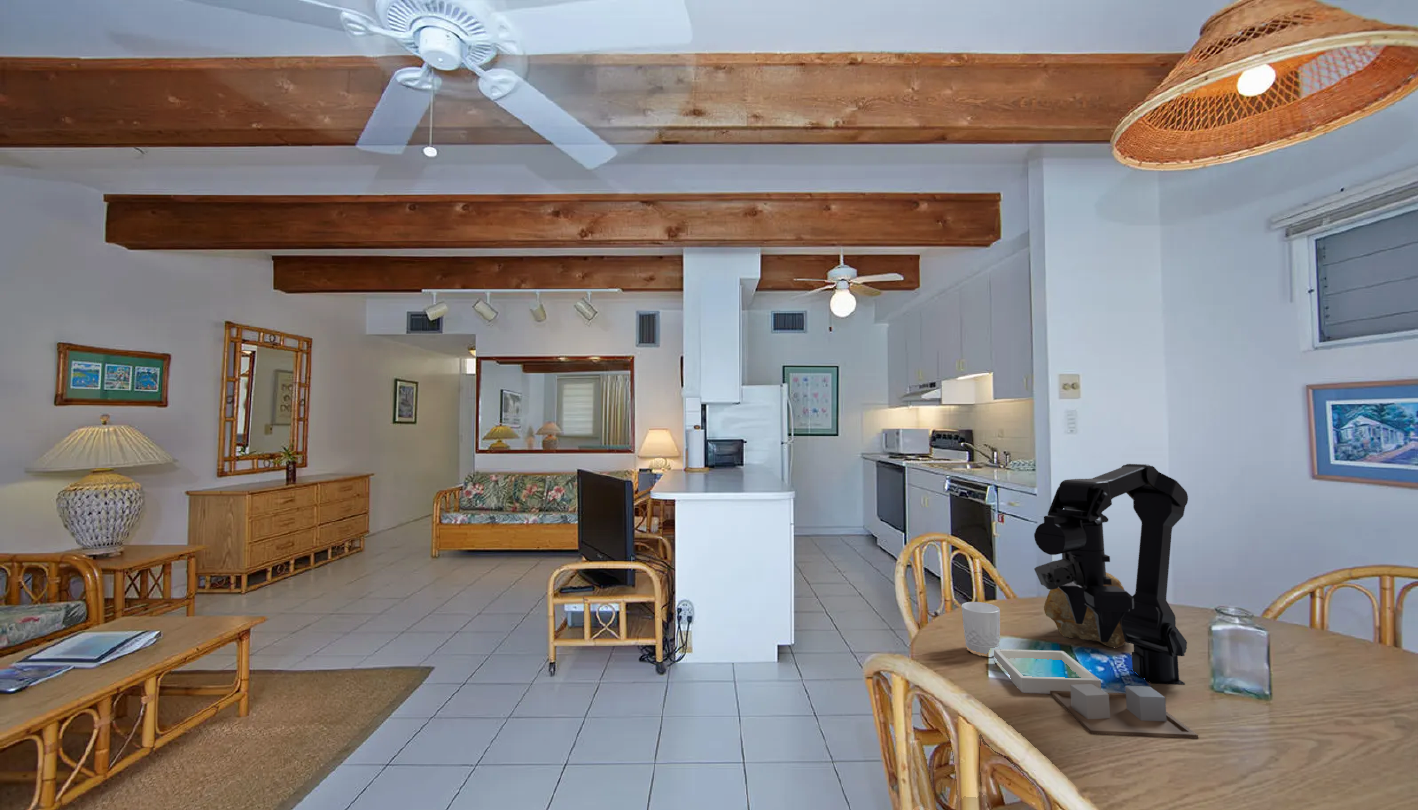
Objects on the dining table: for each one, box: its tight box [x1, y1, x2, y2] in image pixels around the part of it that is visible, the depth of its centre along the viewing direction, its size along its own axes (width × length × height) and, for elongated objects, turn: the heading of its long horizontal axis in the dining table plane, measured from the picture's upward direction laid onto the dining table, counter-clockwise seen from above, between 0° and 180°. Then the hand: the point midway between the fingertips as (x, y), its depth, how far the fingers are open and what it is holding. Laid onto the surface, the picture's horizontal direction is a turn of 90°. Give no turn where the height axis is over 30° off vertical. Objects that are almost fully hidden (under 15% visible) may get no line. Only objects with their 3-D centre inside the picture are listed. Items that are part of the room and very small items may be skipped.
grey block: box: [1124, 685, 1167, 721], centre depth 97 cm, size 4×4×4 cm
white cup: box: [961, 601, 1001, 654], centre depth 127 cm, size 8×8×10 cm
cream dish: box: [993, 648, 1102, 695], centre depth 112 cm, size 14×14×3 cm
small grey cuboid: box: [1070, 684, 1110, 719], centre depth 98 cm, size 4×4×4 cm
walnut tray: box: [1049, 691, 1199, 739], centre depth 97 cm, size 16×14×1 cm
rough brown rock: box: [1043, 572, 1126, 649], centre depth 133 cm, size 23×17×15 cm
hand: (1091, 632), depth 103 cm, fingers open, 9 cm apart
